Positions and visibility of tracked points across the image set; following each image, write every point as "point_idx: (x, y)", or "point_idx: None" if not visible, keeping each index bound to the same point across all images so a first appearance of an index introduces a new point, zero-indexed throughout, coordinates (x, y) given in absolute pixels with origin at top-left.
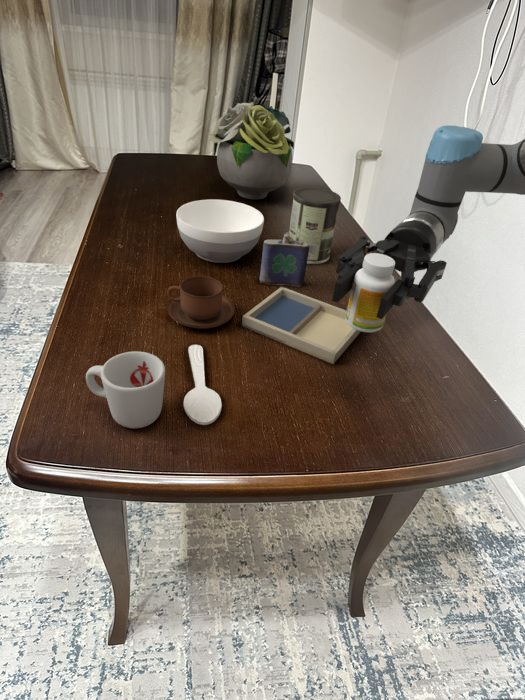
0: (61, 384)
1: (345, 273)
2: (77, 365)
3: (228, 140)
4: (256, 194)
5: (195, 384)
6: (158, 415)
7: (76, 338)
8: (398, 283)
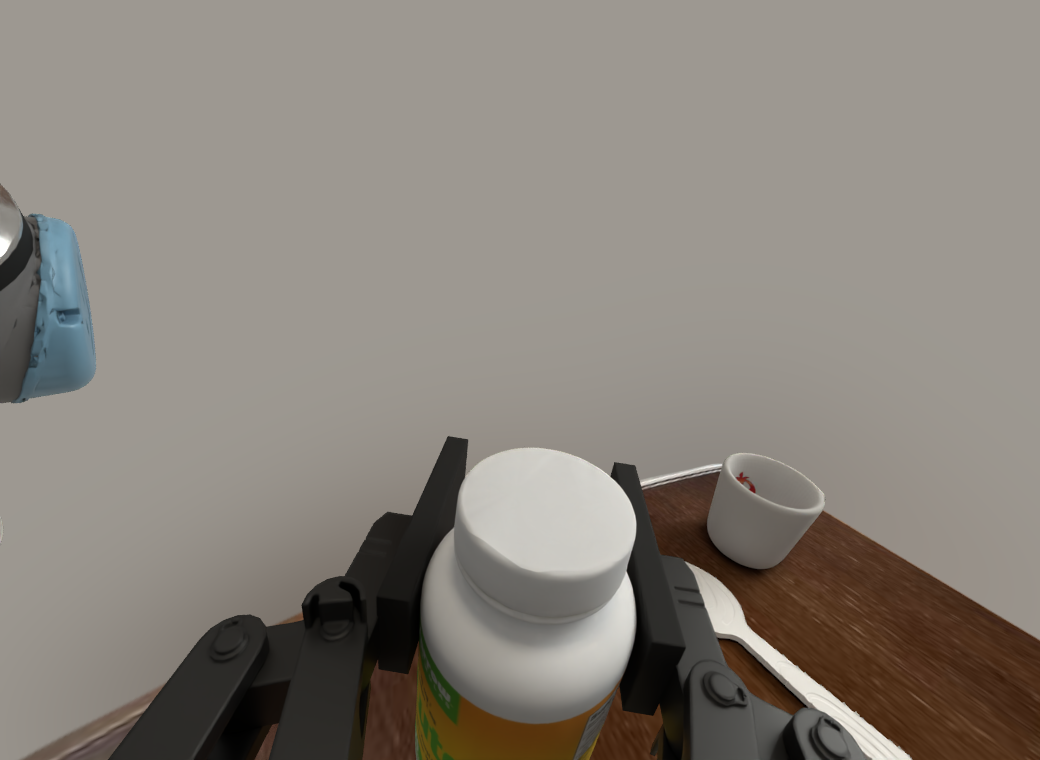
0: (862, 553)
1: (672, 585)
2: (913, 596)
3: None
4: None
5: (756, 636)
6: (712, 537)
7: (1032, 662)
8: (408, 554)
